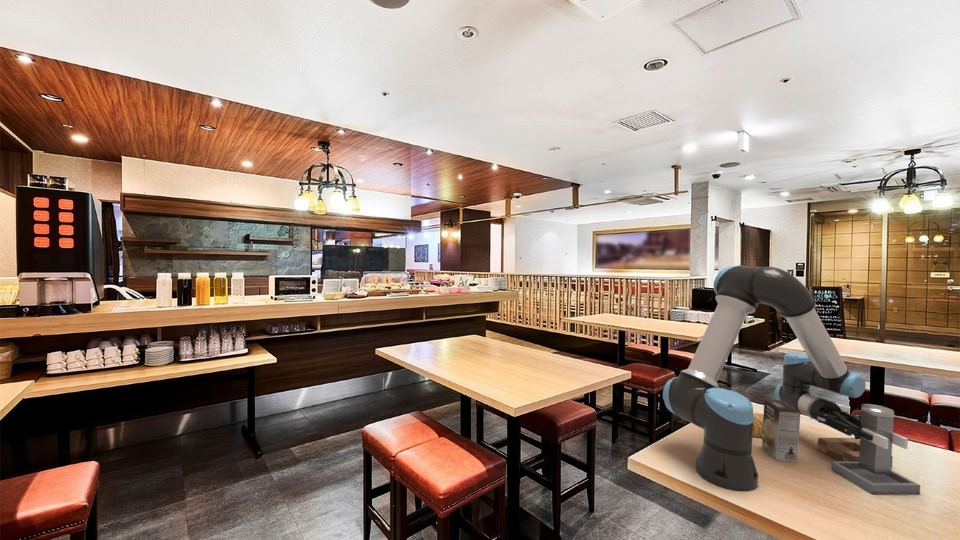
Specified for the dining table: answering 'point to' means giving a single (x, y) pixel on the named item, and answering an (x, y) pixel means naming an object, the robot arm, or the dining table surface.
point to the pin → (881, 424)
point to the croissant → (758, 425)
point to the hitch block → (841, 448)
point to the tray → (875, 479)
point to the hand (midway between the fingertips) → (896, 443)
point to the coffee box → (781, 430)
